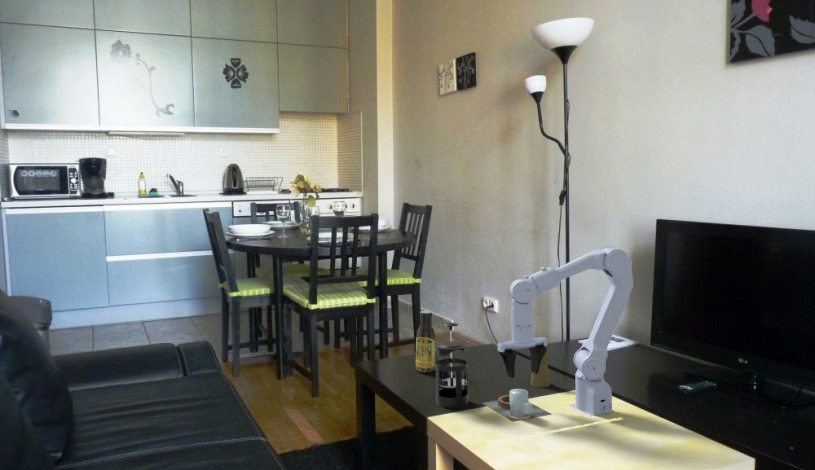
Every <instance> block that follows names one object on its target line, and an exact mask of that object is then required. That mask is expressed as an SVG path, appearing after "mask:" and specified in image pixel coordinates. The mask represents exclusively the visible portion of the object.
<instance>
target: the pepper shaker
mask: <svg viewBox="0 0 815 470" xmlns="http://www.w3.org/2000/svg"><path fill="white" fill-rule="evenodd" d="M549 359H550V355H549V352H548V350H547V351H546V353H545V355H544V356H543V359H542V361H541V364H540V368H539V372H538V374H535V373H533V372H532V371H531V377H530V386H532V387H536V388H548V387H550V386H551V379H550V372H549V368H548V367H549V366H548V361H549Z"/></svg>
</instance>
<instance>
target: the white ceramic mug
mask: <svg viewBox="0 0 815 470" xmlns="http://www.w3.org/2000/svg"><path fill="white" fill-rule="evenodd" d="M509 395H510V415H511V416H513V417H526V416H528V414H531V413H532V404H533V403H532V402H530V401H529V391H528V390H527V389H523V388H514V389H510V390H509ZM531 403H532V404H531Z"/></svg>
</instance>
